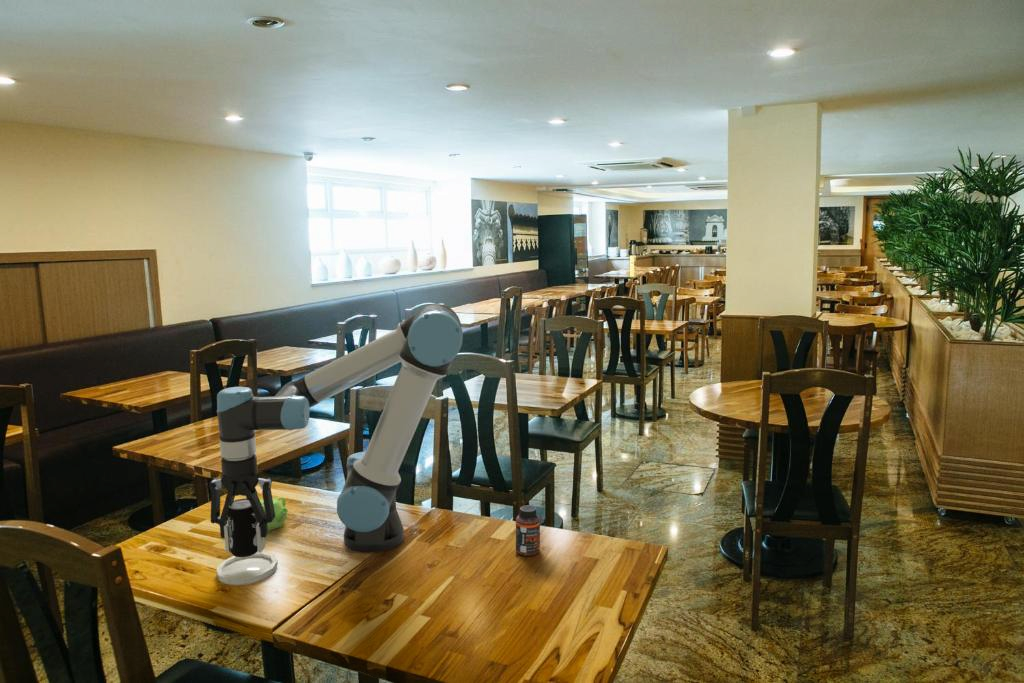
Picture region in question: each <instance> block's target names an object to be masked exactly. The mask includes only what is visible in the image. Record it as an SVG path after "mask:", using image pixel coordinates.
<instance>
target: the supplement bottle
mask: <svg viewBox="0 0 1024 683" xmlns="http://www.w3.org/2000/svg"><path fill="white" fill-rule="evenodd" d="M540 546H541V519H540V516H539V515H538V514H537V507H536V506H535V505H530V504H529V505H528V504H527V505H522V506H520V508H519V514H518V515H517V516H516V518H515V552H517V554H519V555H521V556H524V557H531V556H532V557H533V556H535V555H537V554H538V553H539V552H540V551H541V550H540V548H541V547H540Z"/></svg>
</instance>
